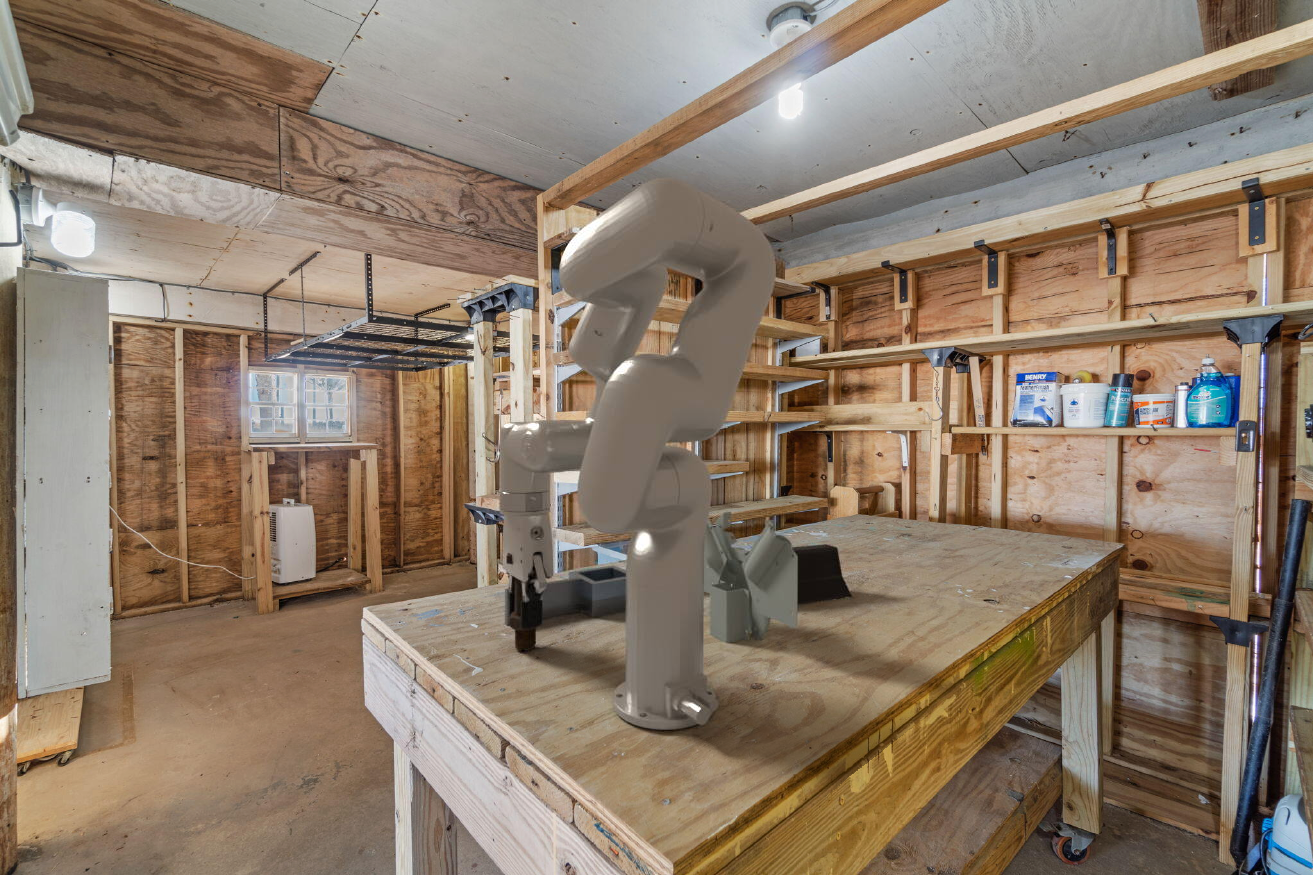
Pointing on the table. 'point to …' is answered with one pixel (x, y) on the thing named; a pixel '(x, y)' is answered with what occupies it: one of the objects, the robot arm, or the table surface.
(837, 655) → the table surface
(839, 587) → the barrier
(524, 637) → the bolt
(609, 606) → the grey square socket holder
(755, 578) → the bracket
